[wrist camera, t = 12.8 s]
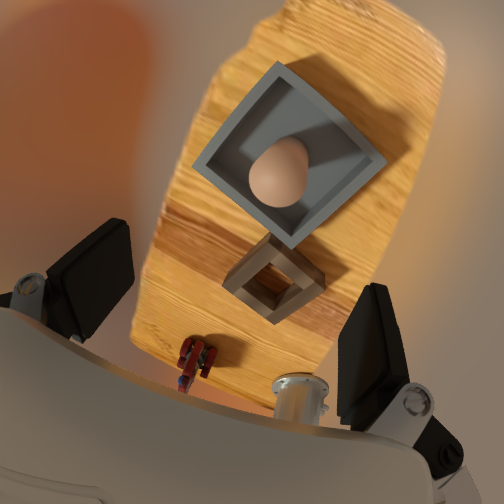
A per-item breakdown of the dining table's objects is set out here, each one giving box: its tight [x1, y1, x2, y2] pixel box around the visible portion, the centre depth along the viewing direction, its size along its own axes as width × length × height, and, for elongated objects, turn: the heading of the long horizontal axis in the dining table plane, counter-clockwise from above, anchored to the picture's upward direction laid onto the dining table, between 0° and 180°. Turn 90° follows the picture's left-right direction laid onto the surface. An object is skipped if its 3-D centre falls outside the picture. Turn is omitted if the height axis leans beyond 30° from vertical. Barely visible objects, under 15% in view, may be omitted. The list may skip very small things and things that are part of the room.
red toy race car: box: [177, 338, 218, 394], centre depth 49 cm, size 7×12×10 cm, turn 162°
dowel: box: [249, 136, 309, 207], centre depth 25 cm, size 4×4×11 cm
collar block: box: [222, 232, 325, 325], centre depth 38 cm, size 10×10×4 cm
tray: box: [192, 60, 388, 250], centre depth 28 cm, size 15×15×4 cm
